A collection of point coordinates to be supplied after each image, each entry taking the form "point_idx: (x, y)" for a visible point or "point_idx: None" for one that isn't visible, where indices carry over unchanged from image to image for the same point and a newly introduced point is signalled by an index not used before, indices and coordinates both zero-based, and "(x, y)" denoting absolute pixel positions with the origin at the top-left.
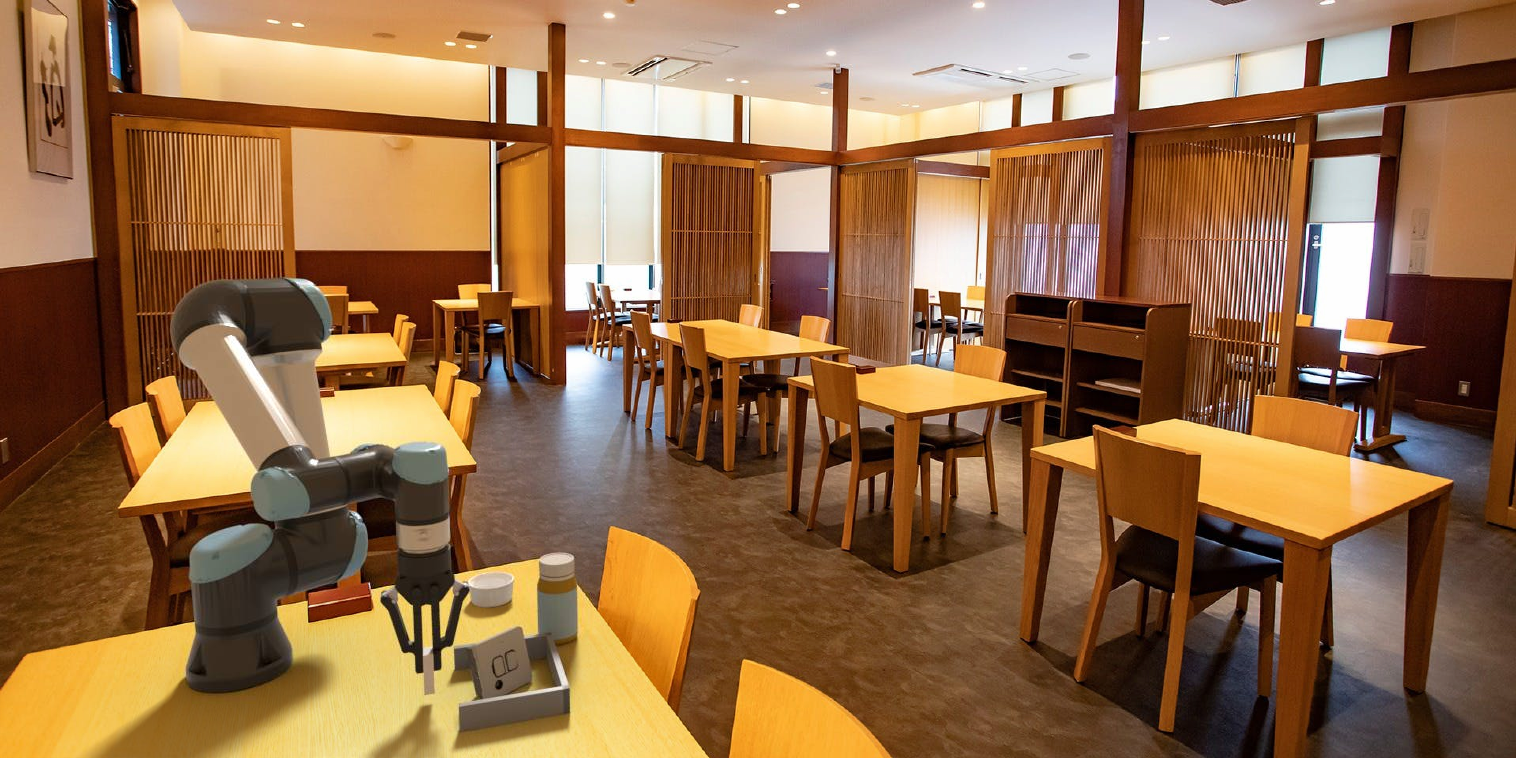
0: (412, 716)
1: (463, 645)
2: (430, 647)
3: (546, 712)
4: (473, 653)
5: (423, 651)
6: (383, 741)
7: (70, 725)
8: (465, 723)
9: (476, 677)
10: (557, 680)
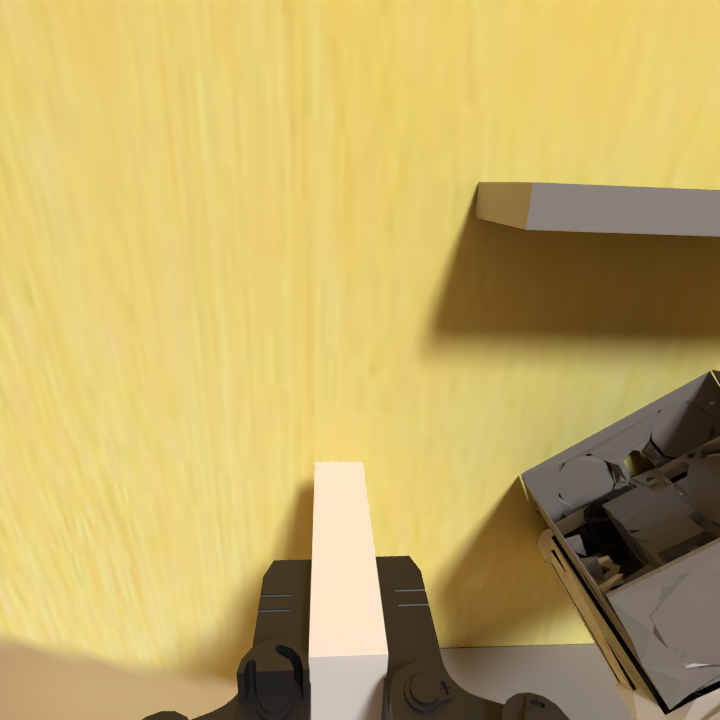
0: (269, 543)
1: (598, 197)
2: (369, 667)
3: None
4: (627, 705)
5: (314, 705)
6: (180, 652)
7: None
8: None
9: (560, 540)
10: None
